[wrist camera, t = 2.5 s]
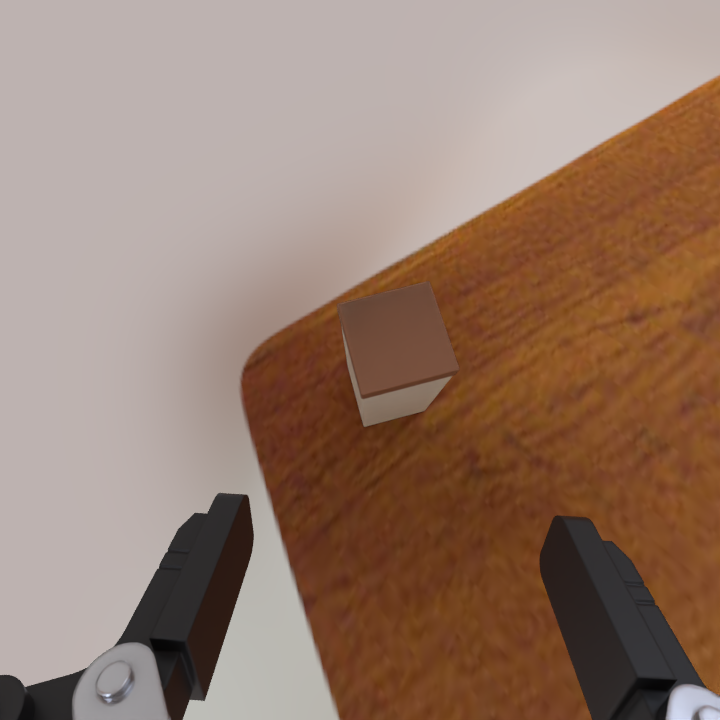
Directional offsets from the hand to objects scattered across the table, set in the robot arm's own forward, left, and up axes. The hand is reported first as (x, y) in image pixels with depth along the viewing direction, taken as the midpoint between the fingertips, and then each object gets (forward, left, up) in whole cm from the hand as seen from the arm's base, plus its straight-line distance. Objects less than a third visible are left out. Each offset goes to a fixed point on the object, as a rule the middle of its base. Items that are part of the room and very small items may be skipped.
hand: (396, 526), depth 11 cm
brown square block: (+2, +6, -12) cm, 13 cm away
